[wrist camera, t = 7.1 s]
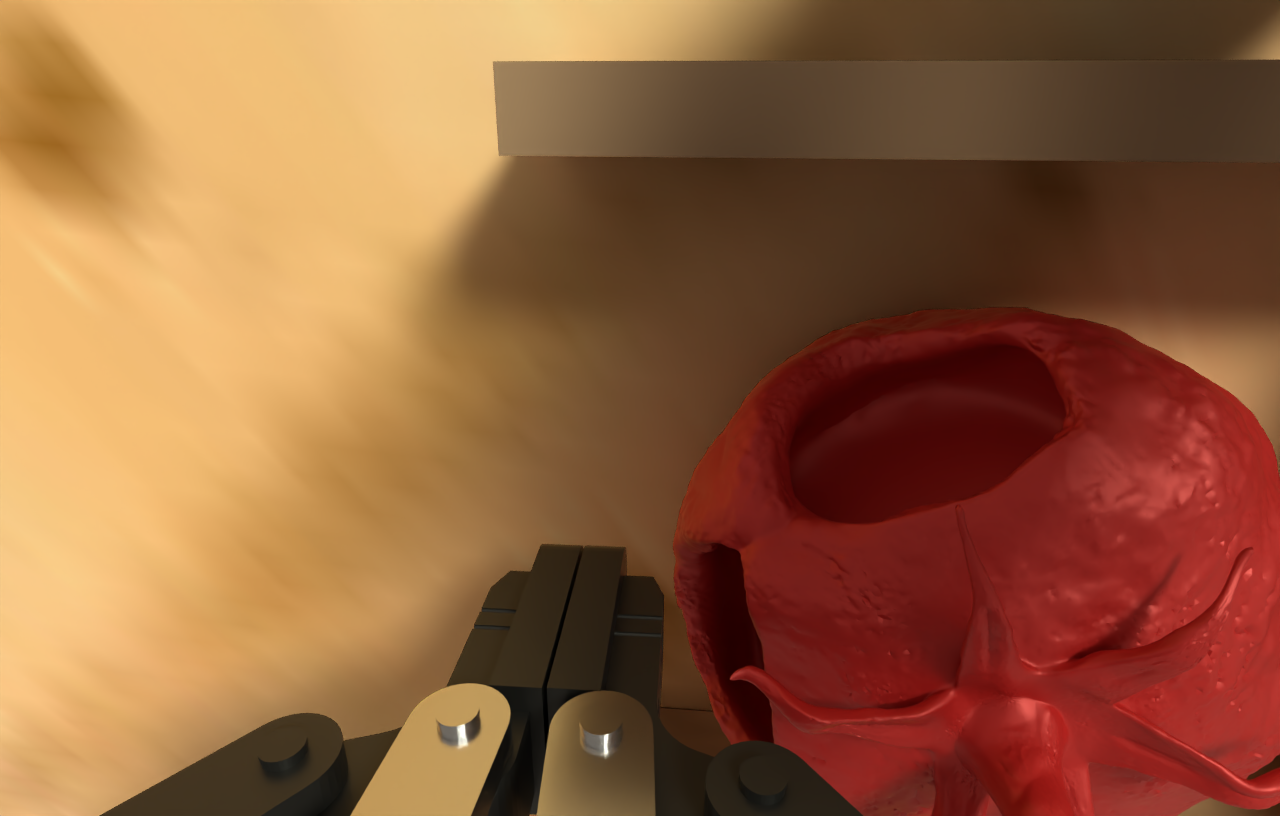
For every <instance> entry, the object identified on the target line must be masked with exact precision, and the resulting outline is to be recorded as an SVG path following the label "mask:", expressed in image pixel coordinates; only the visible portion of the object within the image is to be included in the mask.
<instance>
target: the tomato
mask: <svg viewBox="0 0 1280 816" xmlns="http://www.w3.org/2000/svg"><path fill="white" fill-rule="evenodd" d="M673 550H674V555H675V558H676V564H675V569H674V583H675V585H674V588H675V595H676V596H677V605H678V607H679V608H681V610H682V612H683V617H684V619H685V622H686V625H687V636H688V641H689V644H690V647H691V653H692V656H693V660H694V662H695V666H696V667H697V669H698V670H699V672H700V674H701V677H702V680H703V682H704V684H705V685H706V687H707V691H708V695H709V699H710V702H711V706H712V709H713V713H714V716H715V717H716V719H717V721H718V723H719V724H720V727H721V729H722V731H723V733H724V734H725V735H726V737H727V738H728V740H729V742H730V743H731V745H732V744H735V743H739V742H744V741H764V742H770V743H773V744H777V745H780V746H782V747H784V748H786V749H788V750H790V751H792V752H793V753H795V754H796V755H798V756H799V757H800V758H801V759H803V760H804V761H805V762H806V763H807V764H808V765H809V766H810V767H811V768H812V769H813V770H815V771H816V772H817V773H818V774H819V775H820V776H821V777H822V778H823V779H824V780H825V781H826V782H828V783H829V784H830V785H831V786H832V787H833V788H834V789H835V790H836V791H837V792H838V793H839V794H841V795H842V796H843V797H844V798H845V799H846V800H847V801H848V802H849V803H850V804H851V805H852V806H854V807H855V808H856V809H857V810H858V811H859V812H860V813H861V814H862V815H863V816H1177V815H1179V814H1181V813H1182V812H1184V811H1186V810H1187V809H1189V808H1190V807H1192V806H1194V805H1196V804H1197V803H1199V802H1201V801H1204V800H1206V799H1208V798H1212V799H1214V800H1217V801H1219V802H1222V803H1224V804H1227V805H1230V806H1234V807H1239V808H1244V809H1256V810H1261V809H1267V808H1270V807H1271V806H1274V805H1276V804H1278V803H1280V768H1277V769H1274V770H1272V771H1269V772H1267V773H1265V774H1263V775H1261V776H1259V777H1256V778H1254V779H1251V780H1247V777H1248V776H1249V775H1250V774H1253V773H1255V772H1256V771H1258V770H1259V769H1261V768H1262V767H1264V766H1266V765H1267V764H1269V763H1270V762H1272V761H1273V759H1274V758H1275V757H1276V756H1277V755H1279V754H1280V477H1279V472H1278V469H1277V459H1276V455H1275V452H1274V449H1273V445H1272V443H1271V442H1270V440H1269V438H1268V437H1267V435H1266V433H1265V431H1264V429H1263V428H1262V427H1261V425H1260V424H1259V422H1258V420H1257V419H1256V417H1255V416H1254V414H1253V413H1252V412H1251V411H1250V410H1249V409H1248V408H1246V407H1245V406H1244V405H1243V404H1242V403H1241V402H1240V401H1239V400H1238V399H1237V398H1236V397H1235V396H1234V395H1232V394H1231V393H1230V392H1228V391H1227V390H1225V389H1223V388H1222V387H1220V386H1218V385H1217V384H1215V383H1213V382H1212V381H1210V380H1209V379H1207V378H1206V377H1204V376H1202V375H1200V374H1199V373H1197V372H1196V371H1194V370H1193V369H1191V368H1190V367H1188V366H1186V365H1185V364H1182V363H1180V362H1177V361H1175V360H1174V359H1172V358H1170V357H1169V356H1167V355H1165V354H1164V353H1162V352H1160V351H1158V350H1156V349H1154V348H1151V347H1149V346H1147V345H1145V344H1143V343H1141V342H1139V341H1137V340H1136V339H1134V338H1133V337H1131V336H1130V335H1128V334H1126V333H1125V332H1123V331H1121V330H1119V329H1116V328H1113V327H1109V326H1107V325H1103V324H1098V323H1095V322H1091V321H1087V320H1083V319H1075V318H1066V317H1062V316H1058V315H1054V314H1047V313H1044V312H1040V311H1035V310H1032V309H1029V308H1021V307H988V308H977V309H928V310H920V311H916V312H913V313H911V314H908V315H900V316H893V317H889V318H881V319H870V320H867V321H864V322H860V323H857V324H851V325H849V326H847V327H845V328H843V329H839V330H834V331H831V332H830V333H829V334H826V335H824V336H822V337H820V338H819V339H817V340H816V341H814V342H813V343H812V344H810V345H808V346H807V347H806V348H804V349H803V350H802V351H800V352H799V353H797V354H795V355H793V356H791V357H789V358H788V359H787V360H786V361H784V362H783V363H782V364H781V365H779V366H777V367H776V368H774V369H773V370H772V371H770V372H769V373H768V374H767V375H766V376H765V377H764V378H763V379H762V380H760V382H759V383H758V384H757V385H756V386H755V388H754V389H753V390H752V391H751V392H750V393H749V395H748V396H747V397H746V398H745V399H744V401H743V403H742V405H741V407H740V408H739V410H738V411H737V412H736V413H735V415H734V416H733V417H732V419H731V421H730V422H729V423H728V425H727V426H726V428H725V429H724V431H723V432H722V433H721V434H720V435H718V437H717V438H716V439H715V441H714V442H713V444H712V445H711V446H710V447H708V450H707V452H706V454H705V455H704V457H703V458H702V459H701V461H700V462H699V464H698V465H697V467H696V468H695V470H694V473H693V476H692V479H691V481H690V483H689V485H688V490H687V493H686V496H685V498H684V499H683V502H682V506H681V509H680V512H679V517H678V521H677V529H676V533H675V536H674V541H673Z"/></svg>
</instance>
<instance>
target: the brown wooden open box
mask: <svg viewBox="0 0 1280 816" xmlns="http://www.w3.org/2000/svg"><path fill="white" fill-rule="evenodd" d="M493 70H494V86H495V102H496V118H497V134H498V150H499V156H580V157H694V158H807V159H921V160H1034V161H1148V162H1261V163H1280V60H941V61H509V62H493ZM660 720H661V722H662V724H663V726H664V727H665V729H666V730H667V731H668V732H669V733H670V734H671V735H672V736H673V737H674V738H675V739H676V740H678V741H679V742H680V743H682V744H684V745H686V746H687V747H689V748H692V749H694V750H696V751H699V752H702V753H705V754H708V755H710V756H713V757H715V756H716V755H717V754H718V753H719V752H720V751H722V750H723V749H724V748H726V747H728V746H730V745H731V743H730V742H729V740H728V738H727V737H726V735H725V734H724V733H723V731H722V729H721V727H720V724H719V723H718V721H717V719H716V717H715V716H714V713H713V712H711V711H697V710H683V709H669V708H660ZM1277 768H1280V754H1279V755H1277V756H1276V757H1275V758H1274V759H1273V761H1272V762H1270V763H1269V764H1267V765H1266V766H1264V767H1262V768H1261V769H1259V770H1258V771H1256V772H1255V773H1253V774H1250V775H1249V776H1248V777H1247V780H1251V779H1254V778H1256V777H1259V776H1261V775H1263V774H1265V773H1267V772H1269V771H1272V770H1274V769H1277ZM1177 816H1280V803H1278V804H1276V805H1274V806H1271V807H1270V808H1267V809H1261V810H1256V809H1244V808H1239V807H1234V806H1230V805H1227V804H1224V803H1222V802H1219V801H1217V800H1214V799H1212V798H1208V799H1206V800H1204V801H1201V802H1199V803H1197V804H1196V805H1194V806H1192V807H1190V808H1189V809H1187V810H1186V811H1184V812H1182V813H1181V814H1179V815H1177Z"/></svg>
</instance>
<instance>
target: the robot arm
mask: <svg viewBox="0 0 1280 816" xmlns="http://www.w3.org/2000/svg"><path fill="white" fill-rule="evenodd" d="M663 625H664V595H663V593H662V591H661V589H660V588H659V586H658V584H657V583H656V581H655V579H654V577H644V576H627V555H626V547H607V546H585V547H584V548H583V546H579V545H555V544H542V545H541V546H540V549H539V551H538V554H537V557H536V559H535V562H534V565H533V567H532V570H531V572H524V571H510V572H508V573H507V574H506V575H505V576H504V577H503V578H502V579H500V580H499V581H498V582H497V583H496V584H495V585H494V586H492V587H491V589H490V591H489V593H488V595H487V598H486V600H485V602H484V604H483V607H482V612H480V613H479V615H478V618H477V620H476V622H475V624H474V629H472V631H471V633H470V636H469V638H468V640H467V642H466V644H465V647H464V649H463V651H462V653H461V656H460V658H459V660H458V662H457V664H456V667H455V669H454V671H453V673H452V676H451V678H450V680H449V682H448V685H447V687H446V688H443V689H441V690H438V691H436V692H434V693H432V694H431V695H429V696H427V697H426V698H425V699H424V700H422V701H421V702H420V703H419V704H418V705H417V706H416V707H415V708H414V710H413V711H412V712H411V714H410V715H409V717H408V719H407V721H406V722H405V724H404V726H403V727H401V728H398V729H395V730H392V731H388V732H384V733H380V734H375V735H370V736H365V737H360V738H355V739H350V740H345V741H343V735H342V732H341V729H340V727H339V726H338V724H337V723H336V722H335V721H334V720H332V719H331V718H329V717H327V716H324V715H320V714H313V713H300V714H294V715H289V716H285V717H282V718H279V719H276V720H274V721H271V722H269V723H267V724H265V725H263V726H261V727H259V728H258V729H256V730H254V731H252V732H250V733H248V734H247V735H245V736H243V737H241V738H239V739H238V740H236V741H234V742H232V743H230V744H228V745H227V746H225V747H223V748H221V749H219V750H218V751H216V752H214V753H212V754H210V755H209V756H207V757H205V758H203V759H201V760H199V761H198V762H196V763H194V764H192V765H190V766H189V767H187V768H185V769H183V770H181V771H180V772H178V773H176V774H174V775H172V776H170V777H169V778H167V779H165V780H163V781H161V782H160V783H158V784H156V785H154V786H152V787H151V788H149V789H147V790H145V791H143V792H141V793H140V794H138V795H136V796H134V797H132V798H131V799H129V800H127V801H125V802H123V803H122V804H120V805H118V806H116V807H114V808H112V809H111V810H109V811H107V812H105V813H103V814H102V815H100V816H529V815H530V814H536V815H537V816H863V815H862V814H861V813H860V812H859V811H858V810H857V809H856V808H855V807H854V806H852V805H851V804H850V803H849V802H848V801H847V800H846V799H845V798H844V797H843V796H842V795H841V794H839V793H838V792H837V791H836V790H835V789H834V788H833V787H832V786H831V785H830V784H829V783H828V782H826V781H825V780H824V779H823V778H822V777H821V776H820V775H819V774H818V773H817V772H816V771H815V770H813V769H812V768H811V767H810V766H809V765H808V764H807V763H806V762H805V761H804V760H803V759H801V758H800V757H799V756H798V755H796V754H795V753H793V752H792V751H790V750H788V749H786V748H784V747H782V746H780V745H777V744H773V743H770V742H764V741H744V742H739V743H735V744H732V745H730V746H728V747H726V748H724V749H723V750H722V751H720V752H719V753H718V754H717V755H716V756H715V757H713V756H710V755H708V754H705V753H702V752H699V751H696V750H694V749H692V748H689V747H687V746H686V745H684V744H682V743H680V742H679V741H678V740H676V739H675V738H674V737H673V736H672V735H671V734H670V733H669V732H668V731H667V730H666V729H665V727H664V726H663V724H662V722H661V720H660V704H661V688H662V671H663Z"/></svg>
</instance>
